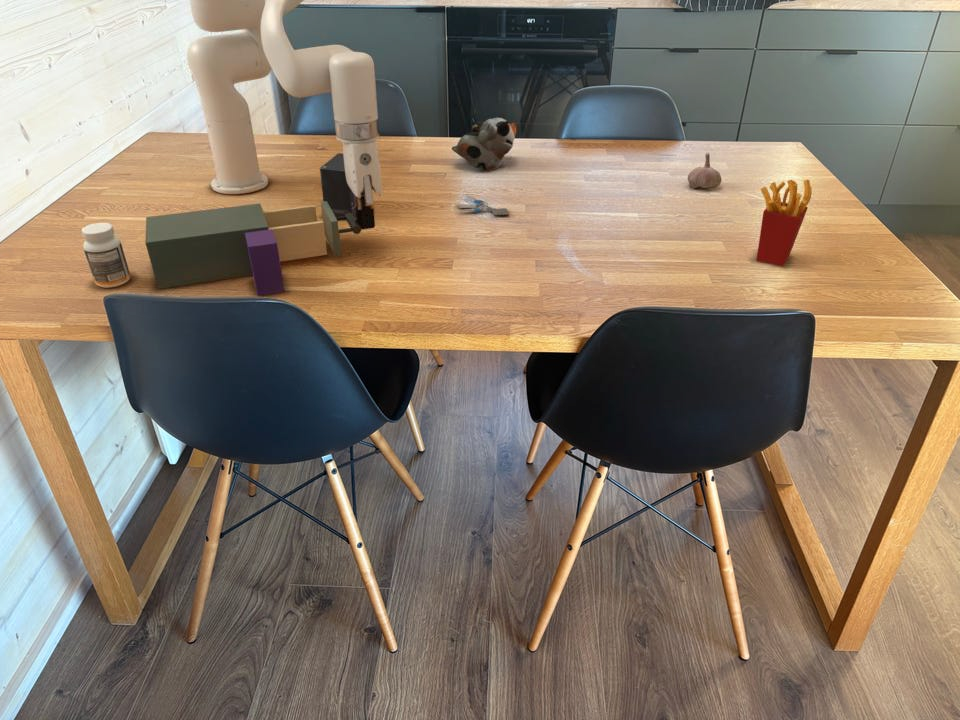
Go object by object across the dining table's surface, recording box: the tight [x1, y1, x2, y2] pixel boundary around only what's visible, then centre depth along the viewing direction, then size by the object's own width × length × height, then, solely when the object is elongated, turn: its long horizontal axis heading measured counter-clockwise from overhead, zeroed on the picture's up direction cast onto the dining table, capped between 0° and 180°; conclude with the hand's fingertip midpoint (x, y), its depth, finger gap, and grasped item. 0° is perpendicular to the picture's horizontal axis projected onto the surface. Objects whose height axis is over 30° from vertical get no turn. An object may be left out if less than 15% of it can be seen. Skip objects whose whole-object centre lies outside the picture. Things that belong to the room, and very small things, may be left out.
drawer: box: [263, 201, 362, 262], centre depth 129 cm, size 23×10×7 cm, turn 111°
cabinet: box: [144, 203, 269, 290], centre depth 124 cm, size 20×12×9 cm, turn 111°
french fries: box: [756, 179, 812, 268], centre depth 128 cm, size 9×8×15 cm
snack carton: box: [245, 229, 286, 297], centre depth 118 cm, size 6×4×9 cm
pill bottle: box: [81, 222, 131, 288], centre depth 118 cm, size 6×6×10 cm
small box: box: [319, 152, 358, 217], centre depth 147 cm, size 11×6×10 cm, turn 168°
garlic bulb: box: [687, 151, 723, 189], centre depth 161 cm, size 8×7×8 cm
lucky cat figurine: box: [451, 117, 517, 172], centre depth 172 cm, size 15×12×14 cm
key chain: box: [458, 194, 510, 216], centre depth 149 cm, size 14×8×1 cm, turn 47°
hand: (365, 227), depth 133 cm, fingers closed
